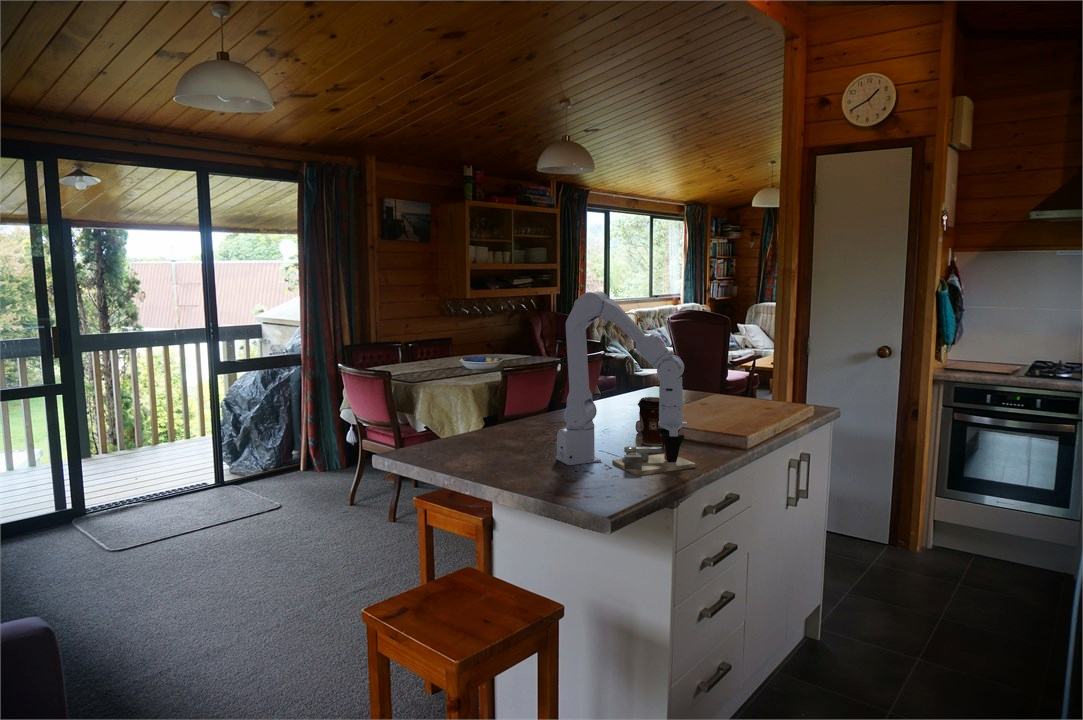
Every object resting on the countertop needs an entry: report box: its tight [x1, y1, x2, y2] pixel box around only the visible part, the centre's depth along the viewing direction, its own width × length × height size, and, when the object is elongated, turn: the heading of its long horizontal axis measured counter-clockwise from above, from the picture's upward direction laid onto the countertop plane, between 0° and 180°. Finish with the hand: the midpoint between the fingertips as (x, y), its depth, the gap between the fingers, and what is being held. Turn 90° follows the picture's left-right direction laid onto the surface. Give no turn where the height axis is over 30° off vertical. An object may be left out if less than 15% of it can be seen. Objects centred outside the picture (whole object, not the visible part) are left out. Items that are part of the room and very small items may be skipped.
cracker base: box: [611, 453, 697, 477], centre depth 177 cm, size 18×12×4 cm, turn 113°
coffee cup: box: [637, 396, 663, 447], centre depth 201 cm, size 9×8×13 cm
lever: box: [623, 445, 667, 461], centre depth 178 cm, size 13×3×4 cm, turn 88°
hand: (670, 458), depth 176 cm, fingers open, 6 cm apart
